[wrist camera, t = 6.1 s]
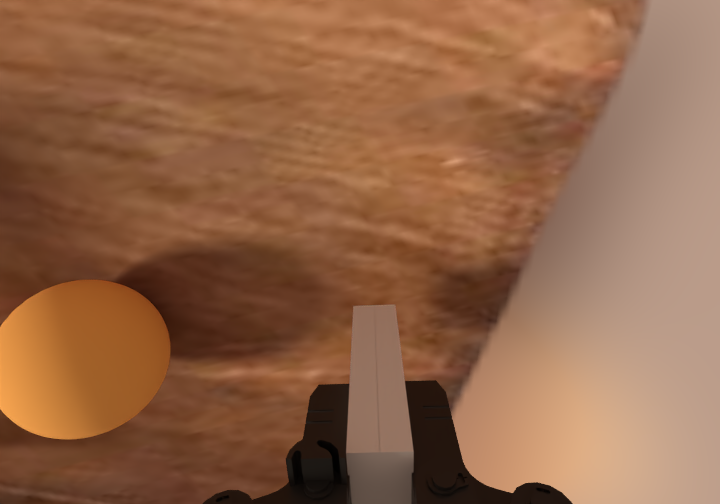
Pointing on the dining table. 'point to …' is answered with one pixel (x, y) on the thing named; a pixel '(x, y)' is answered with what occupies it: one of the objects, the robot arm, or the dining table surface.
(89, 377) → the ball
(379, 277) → the dining table surface
